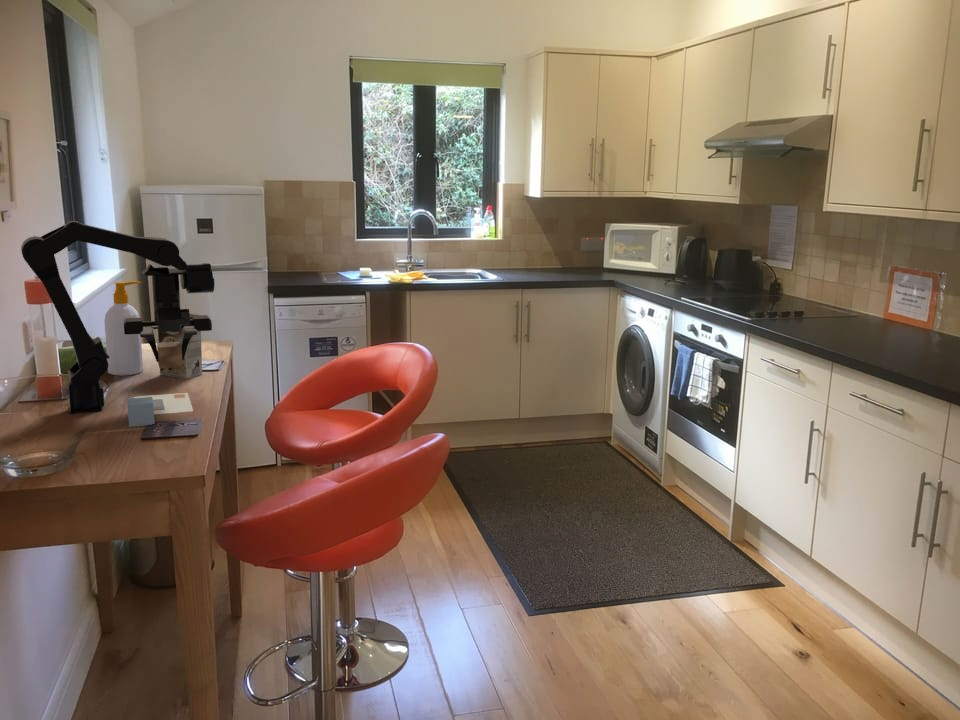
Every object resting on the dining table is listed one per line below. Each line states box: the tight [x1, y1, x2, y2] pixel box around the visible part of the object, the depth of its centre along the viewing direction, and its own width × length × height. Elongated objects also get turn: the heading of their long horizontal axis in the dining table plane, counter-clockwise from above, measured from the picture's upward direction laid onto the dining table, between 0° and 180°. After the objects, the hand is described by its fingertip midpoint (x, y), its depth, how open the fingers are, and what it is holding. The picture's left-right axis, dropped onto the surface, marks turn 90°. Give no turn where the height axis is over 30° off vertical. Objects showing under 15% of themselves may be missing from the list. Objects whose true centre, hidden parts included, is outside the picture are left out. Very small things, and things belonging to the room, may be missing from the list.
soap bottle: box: [104, 280, 144, 377], centre depth 214 cm, size 9×9×24 cm
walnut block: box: [156, 342, 183, 370], centre depth 190 cm, size 5×5×5 cm
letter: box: [133, 392, 194, 415], centre depth 189 cm, size 12×16×1 cm
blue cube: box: [126, 397, 155, 427], centre depth 175 cm, size 5×5×5 cm
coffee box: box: [157, 313, 203, 379], centre depth 213 cm, size 9×6×16 cm
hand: (170, 361), depth 190 cm, fingers closed on walnut block, 5 cm apart
